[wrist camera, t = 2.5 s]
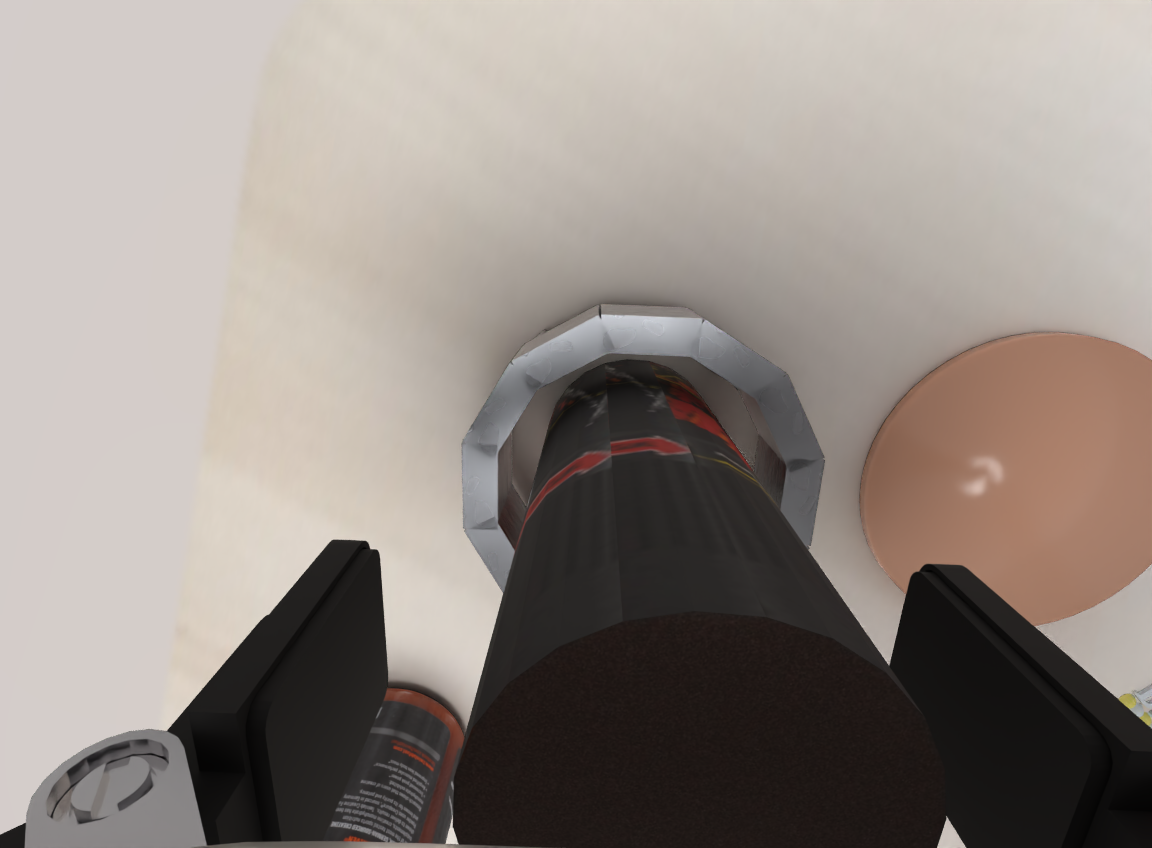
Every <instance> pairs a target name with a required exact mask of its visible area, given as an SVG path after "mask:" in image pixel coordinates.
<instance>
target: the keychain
mask: <svg viewBox="0 0 1152 848" xmlns="http://www.w3.org/2000/svg"><path fill="white" fill-rule="evenodd" d="M1133 693H1134V695H1135V696H1136V697H1137V698H1138V699H1139V701H1140V702H1141V703H1136V699H1135V697H1134V696H1133V695H1132V694H1124V695H1122V696H1121V697H1120V698H1119V699H1118V700H1120V701H1121V702H1122V703H1123V704H1124V705H1125V706H1126V707H1128V708H1129V709H1130V710H1131V711H1132V712H1133V713H1134V714H1136V715H1137V716H1138V717H1139V718H1140V719H1141V720H1143V721H1144V722H1145V723H1146V724H1147V725H1148V726H1149V727H1151V728H1152V700H1150V701H1145V700H1146V699H1147V698H1149V697H1151V696H1152V684H1151V685H1150V686H1148V687H1146V688H1145V689H1143V690H1141V691H1140V692H1136V691H1135V690H1134V691H1133Z"/></svg>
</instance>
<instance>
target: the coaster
mask: <svg viewBox="0 0 1152 848" xmlns="http://www.w3.org/2000/svg"><path fill="white" fill-rule="evenodd" d="M860 515H861V520H862V526H863V531H864V534H865V536H866V539H867V542H868V545H869V547H870V549H871V551H872V553H873V555H874V557H875V559H876V560H877V562H878V563H879V565H880V566H881V567H882V569H883V570H884V571H885V572H886V574H887V575H888V576H889V577H890V578H891V580H892V581H893V582H894V583H895V584H896V585H897V586H898V587H899V588H900V589H901V590H902V591H903V592H904V593H905V594H906V593H907V589H908V584H909V580H910V577H911V575H912V574H913V573H914V572H916V571H918V572H919V571H920V569H921V568H922V566H923V565H925V564H950V565H963V566H964V567H966V568H968V569H969V570H970V571H971V572H972V573H973V574H974V575H976V576H977V577H978V578H979V579H980V580H981V581H982V582H984V583H985V584H986V585H987V586H988V587H989V588H991V589H992V590H993V591H994V592H995V593H996V594H997V595H999V596H1000V597H1001V598H1002V599H1003V600H1004V601H1006V602H1007V603H1008V604H1009V605H1010V606H1011V607H1012V608H1014V609H1015V610H1016V611H1017V612H1018V613H1019V614H1020V615H1022V616H1023V617H1024V618H1025V619H1026V620H1027V621H1029V622H1030V623H1031V624H1032V625H1033V626H1037V625H1041V624H1046V623H1050V622H1055V621H1058V620H1061V619H1064V618H1067V617H1070V616H1073V615H1075V614H1078V613H1080V612H1082V611H1084V610H1087V609H1089V608H1091V607H1093V606H1095V605H1097V604H1099V603H1101V602H1102V601H1104V600H1106V599H1108V598H1109V597H1111V596H1113V595H1114V594H1116V593H1117V592H1118V591H1120V590H1121V589H1123V588H1124V587H1126V586H1127V585H1129V584H1130V583H1131V582H1132V581H1133V580H1134V579H1136V578H1137V577H1138V576H1139V575H1140V574H1141V573H1143V572H1144V571H1145V570H1146V569H1147V568H1148V567H1149V566H1150V565H1151V564H1152V360H1150V359H1149V358H1147V357H1146V356H1144V355H1142V354H1141V353H1139V352H1137V351H1135V350H1133V349H1130V348H1128V347H1126V346H1123V345H1121V344H1118V343H1115V342H1111V341H1107V340H1103V339H1099V338H1095V337H1089V336H1084V335H1078V334H1070V333H1060V332H1035V333H1027V334H1020V335H1014V336H1009V337H1005V338H1002V339H998V340H994V341H990V342H988V343H985V344H983V345H980V346H978V347H975V348H972V349H970V350H968V351H966V352H964V353H962V354H960V355H958V356H956V357H954V358H953V359H951V360H949V361H947V362H946V363H944V364H943V365H941V366H940V367H938V368H937V369H935V370H934V371H932V372H931V373H930V374H928V375H927V376H926V377H925V378H924V379H922V380H921V381H920V382H919V383H918V384H917V385H915V386H914V387H913V388H912V389H911V390H910V391H909V392H908V393H907V394H906V395H905V396H904V398H903V399H902V400H901V401H900V402H899V403H898V404H897V405H896V407H895V408H894V409H893V411H892V412H891V413H890V415H889V416H888V418H887V419H886V420H885V422H884V423H883V425H882V427H881V429H880V430H879V432H878V434H877V436H876V438H875V439H874V441H873V444H872V446H871V449H870V451H869V454H868V456H867V459H866V463H865V467H864V471H863V474H862V480H861V488H860Z"/></svg>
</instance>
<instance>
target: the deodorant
mask: <svg viewBox="0 0 1152 848" xmlns="http://www.w3.org/2000/svg"><path fill="white" fill-rule="evenodd" d="M945 821H946V790H945V767H944V765H943V762H942V759H941V757H940V754H939V752H938V749H937V747H936V744H935V742H934V739H933V737H932V734H931V731H930V729H929V726H928V724H927V721H926V719H925V717H924V715H923V714H922V713H921V711H920V710H919V708H918V707H917V705H916V704H915V703H914V701H913V700H912V698H911V697H910V695H909V694H908V693H907V691H906V690H905V688H904V687H903V685H902V684H901V683H900V681H899V680H898V678H897V677H896V675H895V674H894V672H893V671H892V670H891V668H890V667H889V665H888V664H887V662H886V661H885V660H884V658H883V657H882V655H881V654H880V652H879V651H878V650H877V648H876V647H875V645H874V644H873V642H872V641H871V639H870V638H869V637H868V635H867V634H866V632H865V631H864V629H863V628H862V627H861V625H860V624H859V622H858V621H857V619H856V618H855V617H854V615H853V614H852V612H851V611H850V609H849V608H848V607H847V605H846V604H845V602H844V601H843V599H842V598H841V596H840V595H839V594H838V592H837V591H836V589H835V588H834V586H833V585H832V584H831V582H830V581H829V579H828V578H827V576H826V575H825V574H824V572H823V571H822V569H821V568H820V566H819V565H818V564H817V562H816V561H815V559H814V558H813V556H812V555H811V553H810V552H809V551H808V549H807V548H806V546H805V545H804V543H803V542H802V541H801V539H800V538H799V536H798V535H797V533H796V532H795V531H794V529H793V528H792V526H791V525H790V523H789V522H788V521H787V519H786V518H785V516H784V515H783V513H782V512H781V510H780V509H779V508H778V506H777V505H776V503H775V502H774V500H773V499H772V498H771V496H770V495H769V493H768V492H767V490H766V489H765V488H764V486H763V485H762V483H761V482H760V480H759V479H758V477H757V476H756V475H755V473H754V472H753V470H752V469H751V467H750V466H749V465H748V463H747V462H746V460H745V459H744V457H743V456H742V455H741V453H740V452H739V450H738V449H737V447H736V446H735V445H734V443H733V442H732V440H731V439H730V437H729V436H728V434H727V433H726V432H725V430H724V429H723V427H722V426H721V424H720V423H719V422H718V420H717V419H716V417H715V416H714V414H713V413H712V412H711V410H710V409H709V407H708V406H707V404H706V403H705V402H704V400H703V399H702V397H701V396H700V395H699V394H698V392H697V391H696V390H695V389H694V388H693V386H692V385H691V384H690V383H689V382H688V380H686V379H685V378H683V377H682V376H680V375H679V374H677V373H676V372H674V371H673V370H672V369H670V368H667V367H665V366H662V365H659V364H656V363H653V362H650V361H640V360H628V359H627V360H621V361H616V362H610V363H605V364H603V365H601V366H598V367H596V368H594V369H592V370H590V371H588V372H586V373H584V374H583V375H582V376H581V377H579V378H578V379H577V380H576V381H575V382H573V383H572V384H571V385H570V386H569V387H568V388H567V389H566V391H565V392H564V394H563V395H562V397H561V398H560V399H559V401H558V402H557V404H556V406H555V409H554V412H553V415H552V418H551V420H550V423H549V427H548V430H547V434H546V438H545V442H544V445H543V449H542V453H541V456H540V460H539V464H538V467H537V471H536V475H535V479H534V482H533V486H532V490H531V493H530V497H529V501H528V505H527V508H526V512H525V516H524V519H523V523H522V527H521V530H520V534H519V538H518V542H517V545H516V549H515V553H514V556H513V560H512V564H511V567H510V571H509V575H508V579H507V582H506V586H505V590H504V593H503V597H502V601H501V604H500V608H499V612H498V616H497V619H496V623H495V627H494V630H493V634H492V638H491V642H490V645H489V649H488V653H487V656H486V660H485V664H484V667H483V671H482V675H481V679H480V682H479V686H478V690H477V693H476V697H475V701H474V704H473V708H472V712H471V716H470V719H469V723H468V727H467V730H466V734H465V738H464V741H463V745H462V749H461V753H460V756H459V760H458V764H457V767H456V771H455V775H454V795H453V828H454V831H455V834H456V837H457V841H458V844H459V845H486V846H514V847H541V848H937V846H938V843H939V840H940V837H941V834H942V831H943V828H944V824H945Z"/></svg>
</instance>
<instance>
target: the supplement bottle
mask: <svg viewBox="0 0 1152 848" xmlns="http://www.w3.org/2000/svg"><path fill="white" fill-rule="evenodd" d="M463 741H464V735H463V732H462V730H461V728H460V726H459V724H458V722H457V721H456V719H455V718H454V716H453V715H452V714H451V713H450V712H449V711H448V710H447V709H446V708H445V707H444V706H443V705H441V704H440V703H438V702H437V701H435V700H433V699H431V698H430V697H427V696H425V695H423V694H421V693H418V692H415V691H411V690H406V689H395V688H387V691H386V695H385V698H384V701H383V703H382V705H381V708H380V710H379V712H378V715H377V717H376V719H375V721H374V724H373V726H372V728H371V731H370V733H369V735H368V737H367V740H366V742H365V744H364V747H363V749H362V751H361V754H360V756H359V758H358V760H357V763H356V765H355V767H354V770H353V772H352V774H351V776H350V779H349V781H348V783H347V786H346V788H345V790H344V792H343V795H342V797H341V799H340V802H339V804H338V806H337V809H336V811H335V813H334V815H333V818H332V820H331V822H330V825H329V827H328V829H327V831H326V834H325V836H324V838H323V841H351V842H391V843H430V844H445V843H446V839H447V835H448V831H449V828H450V823H451V819H452V815H453V795H454V775H455V771H456V767H457V764H458V760H459V756H460V753H461V749H462V745H463Z"/></svg>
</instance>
